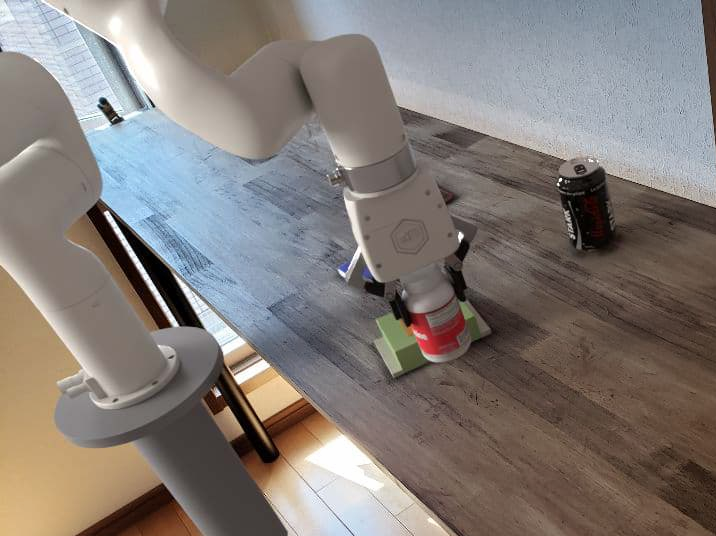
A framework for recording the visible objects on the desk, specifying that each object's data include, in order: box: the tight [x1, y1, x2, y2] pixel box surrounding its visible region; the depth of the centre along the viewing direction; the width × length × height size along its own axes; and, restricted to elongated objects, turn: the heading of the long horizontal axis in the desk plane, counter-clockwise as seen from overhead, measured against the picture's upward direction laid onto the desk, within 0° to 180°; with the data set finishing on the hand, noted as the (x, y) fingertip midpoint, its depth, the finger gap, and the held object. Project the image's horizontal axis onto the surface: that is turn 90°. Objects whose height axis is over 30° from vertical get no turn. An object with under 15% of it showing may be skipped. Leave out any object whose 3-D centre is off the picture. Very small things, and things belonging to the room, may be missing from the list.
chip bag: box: [373, 298, 492, 379], centre depth 111 cm, size 14×9×4 cm, turn 115°
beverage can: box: [556, 156, 618, 253], centre depth 117 cm, size 7×7×12 cm
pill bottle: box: [398, 262, 472, 363], centre depth 97 cm, size 6×6×11 cm
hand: (432, 307), depth 96 cm, fingers closed on pill bottle, 6 cm apart
